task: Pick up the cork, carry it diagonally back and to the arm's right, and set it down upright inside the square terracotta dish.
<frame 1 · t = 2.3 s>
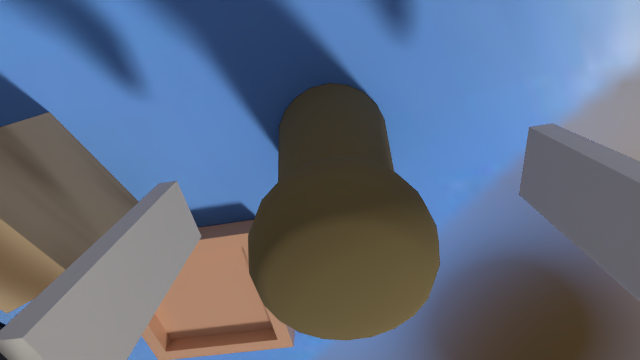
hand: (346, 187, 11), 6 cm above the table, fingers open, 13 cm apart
terracotta dish: (206, 289, 22), on the table
cork: (332, 137, 17), on the table
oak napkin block: (73, 181, 18), on the table
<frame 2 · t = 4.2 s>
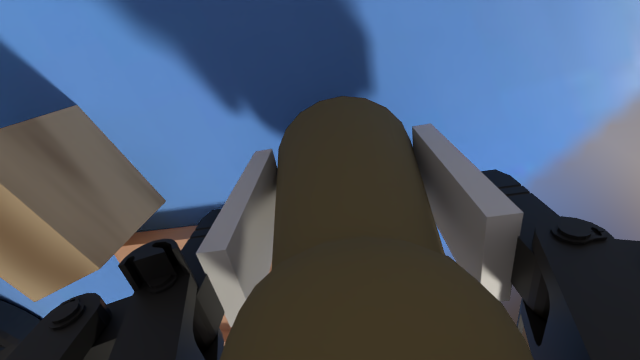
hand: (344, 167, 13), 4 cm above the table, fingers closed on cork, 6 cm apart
terracotta dish: (225, 284, 22), on the table
cork: (344, 162, 14), point 3 cm above the table, touching gripper
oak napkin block: (98, 173, 18), on the table
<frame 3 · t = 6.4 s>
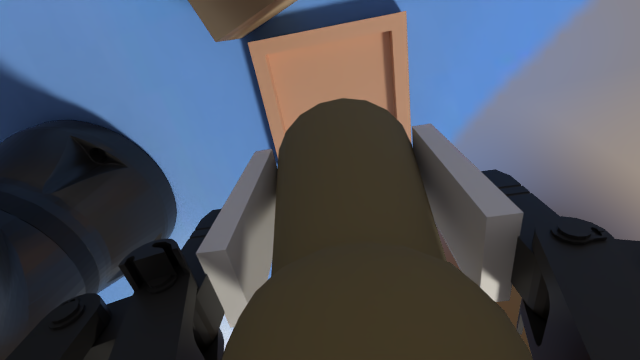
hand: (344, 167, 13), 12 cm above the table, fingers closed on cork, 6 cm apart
terracotta dish: (336, 102, 24), on the table
cork: (344, 164, 14), point 12 cm above the table, touching gripper
when the fingers open (1 cm above the table, at t = 8.6 s): cork stays where it is, resting on terracotta dish.
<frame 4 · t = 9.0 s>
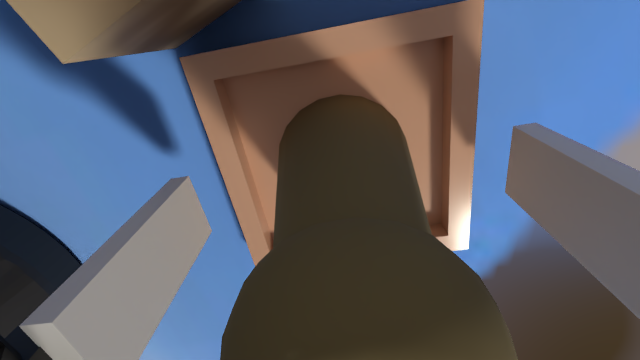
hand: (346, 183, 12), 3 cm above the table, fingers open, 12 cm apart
terracotta dish: (343, 154, 14), on the table
cork: (342, 158, 14), resting on terracotta dish
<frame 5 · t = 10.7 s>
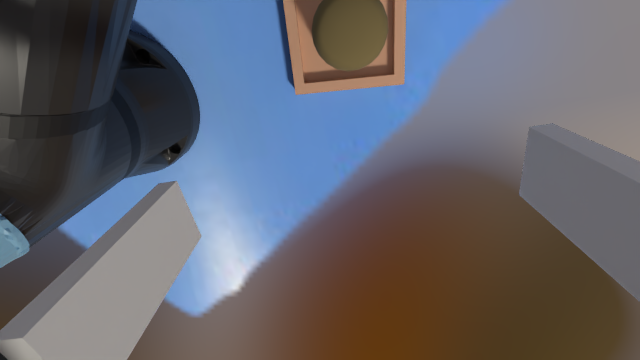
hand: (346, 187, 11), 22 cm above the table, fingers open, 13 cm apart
terracotta dish: (345, 29, 29), on the table
cork: (344, 29, 29), resting on terracotta dish
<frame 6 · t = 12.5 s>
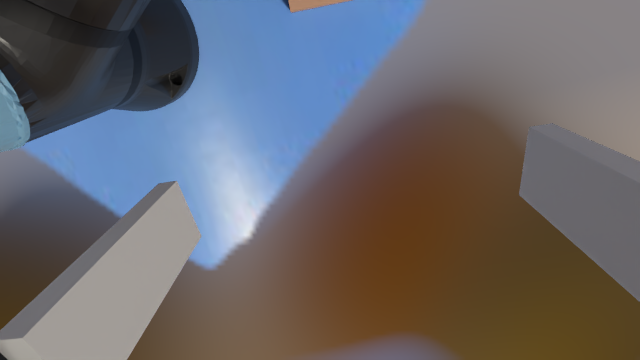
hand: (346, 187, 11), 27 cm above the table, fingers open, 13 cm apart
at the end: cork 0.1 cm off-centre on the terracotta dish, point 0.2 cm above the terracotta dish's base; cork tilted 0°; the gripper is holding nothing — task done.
